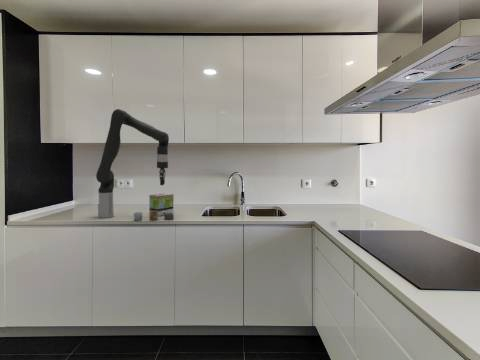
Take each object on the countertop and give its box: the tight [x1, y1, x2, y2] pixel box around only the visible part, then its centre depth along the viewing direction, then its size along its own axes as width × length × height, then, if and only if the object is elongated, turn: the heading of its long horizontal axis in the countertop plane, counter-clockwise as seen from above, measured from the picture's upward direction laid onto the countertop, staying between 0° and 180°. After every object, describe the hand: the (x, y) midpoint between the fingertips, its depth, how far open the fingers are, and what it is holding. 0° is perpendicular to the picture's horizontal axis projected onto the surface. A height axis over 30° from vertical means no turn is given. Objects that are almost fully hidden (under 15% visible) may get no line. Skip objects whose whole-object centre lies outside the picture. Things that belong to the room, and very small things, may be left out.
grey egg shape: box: [133, 211, 143, 222], centre depth 200 cm, size 5×5×5 cm
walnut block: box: [149, 211, 159, 222], centre depth 201 cm, size 4×4×6 cm
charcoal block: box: [164, 212, 174, 221], centre depth 203 cm, size 5×5×4 cm
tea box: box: [148, 192, 174, 217], centre depth 221 cm, size 15×10×15 cm, turn 149°
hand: (162, 184), depth 208 cm, fingers open, 8 cm apart
